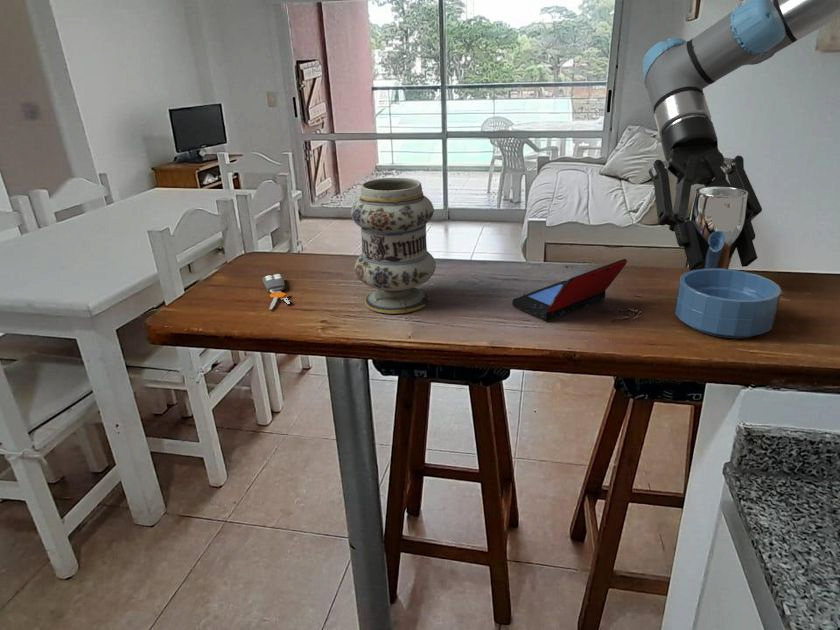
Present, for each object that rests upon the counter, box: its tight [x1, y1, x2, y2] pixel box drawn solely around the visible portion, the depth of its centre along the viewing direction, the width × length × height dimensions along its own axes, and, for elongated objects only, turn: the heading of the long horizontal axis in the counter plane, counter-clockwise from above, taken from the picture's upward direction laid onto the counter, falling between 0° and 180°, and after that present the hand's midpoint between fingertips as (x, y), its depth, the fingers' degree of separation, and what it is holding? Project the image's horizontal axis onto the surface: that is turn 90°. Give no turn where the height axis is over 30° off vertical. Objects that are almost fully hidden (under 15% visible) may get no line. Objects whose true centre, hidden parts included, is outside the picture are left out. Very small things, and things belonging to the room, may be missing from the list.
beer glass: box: [687, 186, 748, 272], centre depth 83 cm, size 7×7×15 cm
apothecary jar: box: [350, 177, 437, 315], centre depth 84 cm, size 12×12×18 cm
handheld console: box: [511, 258, 628, 322], centre depth 81 cm, size 12×11×7 cm
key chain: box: [262, 273, 291, 311], centre depth 92 cm, size 13×4×2 cm, turn 19°
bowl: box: [674, 268, 782, 339], centre depth 75 cm, size 12×12×6 cm
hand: (723, 263), depth 81 cm, fingers closed on beer glass, 7 cm apart
